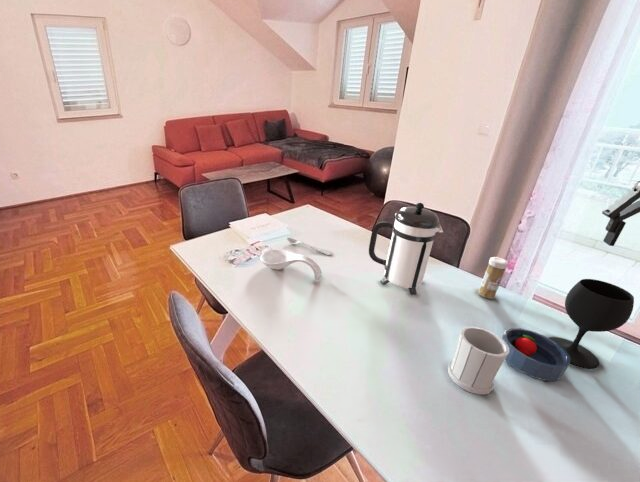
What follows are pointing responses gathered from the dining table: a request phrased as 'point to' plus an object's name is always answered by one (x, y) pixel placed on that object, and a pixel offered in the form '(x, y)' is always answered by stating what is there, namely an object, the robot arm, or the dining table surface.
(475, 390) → the cup
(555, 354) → the bowl
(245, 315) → the dining table surface
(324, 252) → the spoon
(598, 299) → the wine glass
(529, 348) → the strawberry
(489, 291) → the sprinkles bottle
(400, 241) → the coffee press
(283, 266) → the spoon rest
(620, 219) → the robot arm
